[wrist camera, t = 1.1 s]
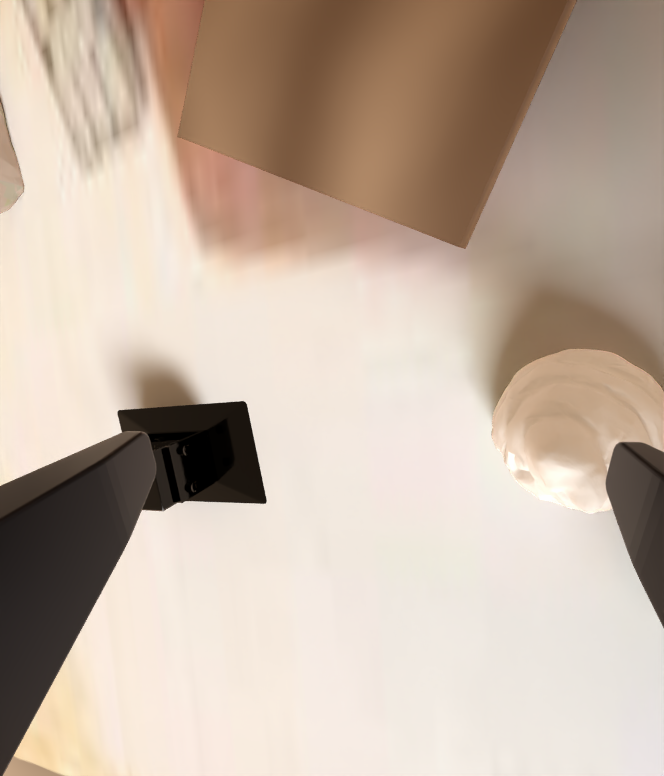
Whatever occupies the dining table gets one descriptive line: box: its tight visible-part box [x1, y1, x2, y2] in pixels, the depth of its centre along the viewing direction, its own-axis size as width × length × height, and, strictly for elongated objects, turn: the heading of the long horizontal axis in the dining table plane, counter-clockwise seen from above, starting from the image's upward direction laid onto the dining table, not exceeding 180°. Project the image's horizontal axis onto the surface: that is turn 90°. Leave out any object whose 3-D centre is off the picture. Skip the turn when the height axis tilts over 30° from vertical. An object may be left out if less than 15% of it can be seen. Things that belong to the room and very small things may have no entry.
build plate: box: [118, 401, 266, 511], centre depth 25 cm, size 12×7×5 cm, turn 100°
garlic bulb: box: [491, 349, 664, 514], centre depth 15 cm, size 6×6×6 cm
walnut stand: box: [177, 0, 577, 249], centre depth 16 cm, size 12×12×3 cm
